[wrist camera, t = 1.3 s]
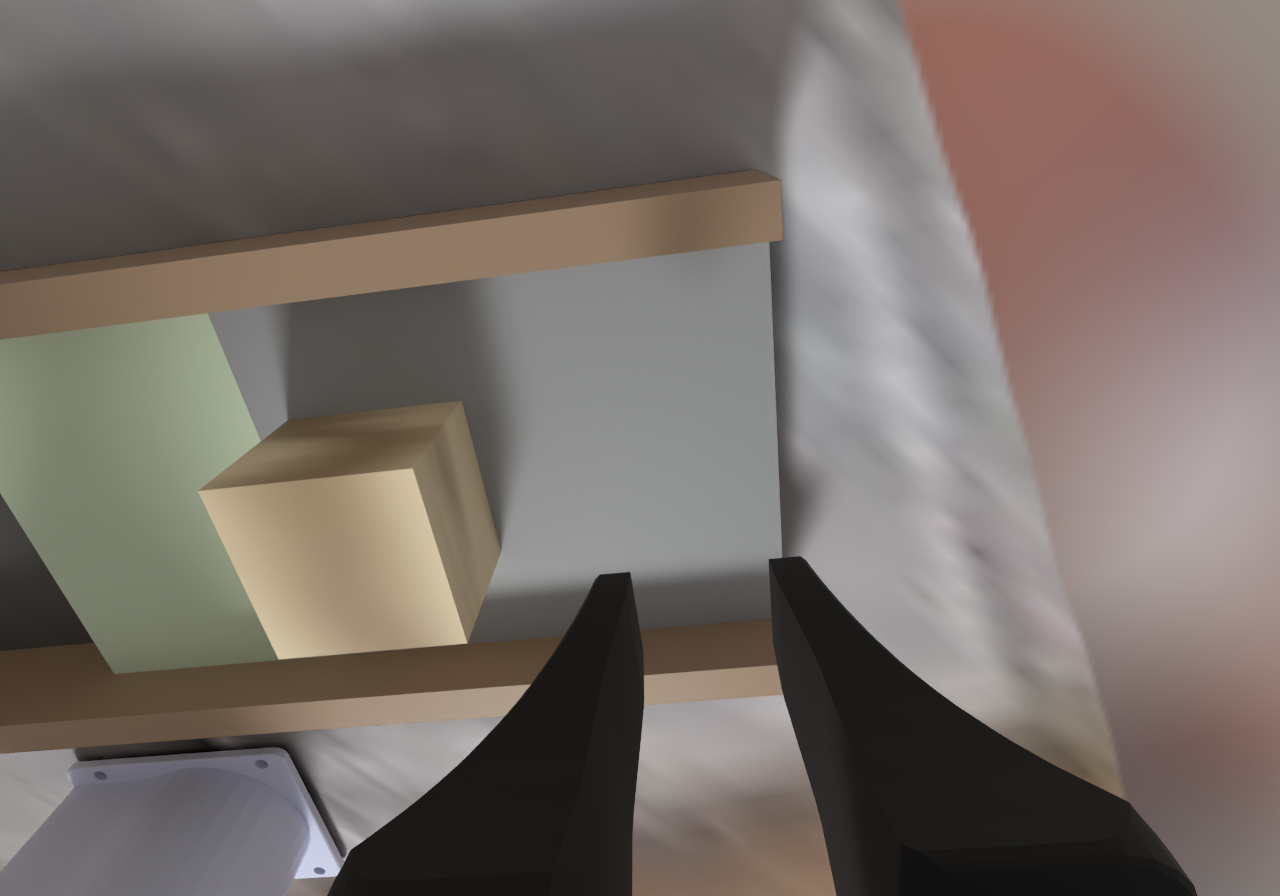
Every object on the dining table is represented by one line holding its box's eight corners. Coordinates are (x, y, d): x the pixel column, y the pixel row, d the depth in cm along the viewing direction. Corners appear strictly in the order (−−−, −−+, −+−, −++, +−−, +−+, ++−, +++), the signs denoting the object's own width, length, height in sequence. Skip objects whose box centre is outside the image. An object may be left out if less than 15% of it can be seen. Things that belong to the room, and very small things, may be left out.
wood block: (345, 566, 21) (278, 659, 17) (287, 420, 18) (197, 491, 15) (501, 551, 20) (467, 643, 17) (461, 400, 18) (412, 468, 14)
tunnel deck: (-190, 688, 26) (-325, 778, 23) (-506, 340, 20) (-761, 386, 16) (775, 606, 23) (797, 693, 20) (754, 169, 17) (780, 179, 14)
